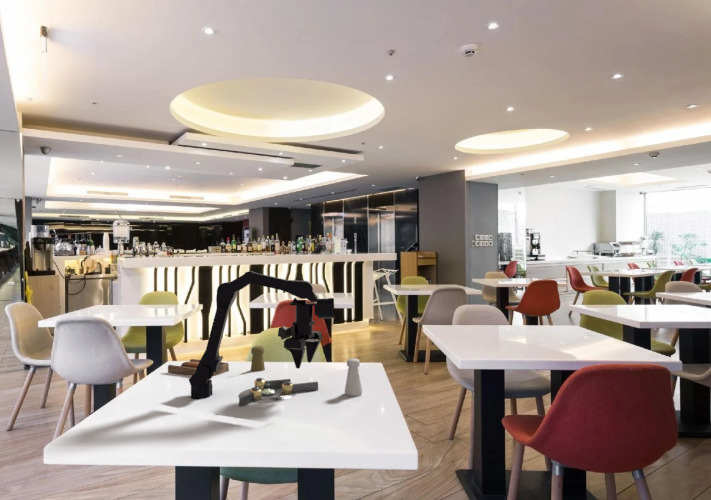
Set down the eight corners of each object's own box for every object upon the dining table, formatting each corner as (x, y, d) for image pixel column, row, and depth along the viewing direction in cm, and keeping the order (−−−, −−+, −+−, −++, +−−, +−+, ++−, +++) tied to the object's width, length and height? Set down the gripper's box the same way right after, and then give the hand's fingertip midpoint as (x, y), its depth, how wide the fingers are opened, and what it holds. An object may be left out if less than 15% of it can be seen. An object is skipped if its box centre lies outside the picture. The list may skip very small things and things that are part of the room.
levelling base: (266, 415, 136) (266, 398, 136) (216, 407, 144) (216, 390, 144) (307, 393, 157) (306, 378, 158) (261, 387, 165) (261, 373, 166)
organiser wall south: (209, 377, 181) (209, 369, 181) (207, 377, 181) (207, 369, 181) (228, 371, 191) (228, 363, 191) (226, 370, 191) (226, 363, 191)
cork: (267, 371, 189) (267, 345, 189) (262, 375, 183) (262, 347, 183) (253, 371, 190) (252, 344, 190) (248, 375, 184) (248, 347, 184)
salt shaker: (360, 401, 148) (360, 361, 148) (343, 400, 149) (342, 360, 150) (363, 396, 154) (363, 357, 154) (347, 395, 155) (346, 356, 155)
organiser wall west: (205, 377, 180) (205, 370, 180) (167, 372, 188) (167, 365, 188) (207, 377, 181) (207, 369, 181) (170, 372, 190) (170, 364, 190)
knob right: (283, 395, 151) (283, 384, 151) (281, 392, 154) (280, 381, 155) (319, 391, 155) (319, 380, 156) (316, 388, 159) (316, 377, 159)
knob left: (254, 391, 156) (254, 380, 156) (254, 388, 159) (254, 377, 159) (290, 388, 159) (290, 377, 159) (289, 385, 163) (289, 375, 163)
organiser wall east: (226, 370, 191) (226, 363, 191) (190, 366, 200) (190, 359, 200) (228, 370, 192) (228, 362, 192) (192, 365, 201) (192, 358, 201)
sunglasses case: (227, 370, 192) (221, 358, 189) (217, 382, 186) (211, 370, 183) (194, 366, 199) (188, 354, 196) (183, 378, 194) (177, 366, 191)
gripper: (294, 314, 165) (294, 357, 164) (269, 320, 147) (268, 369, 147) (323, 315, 161) (322, 360, 161) (300, 322, 144) (300, 372, 143)
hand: (303, 365), depth 153 cm, fingers open, 9 cm apart
